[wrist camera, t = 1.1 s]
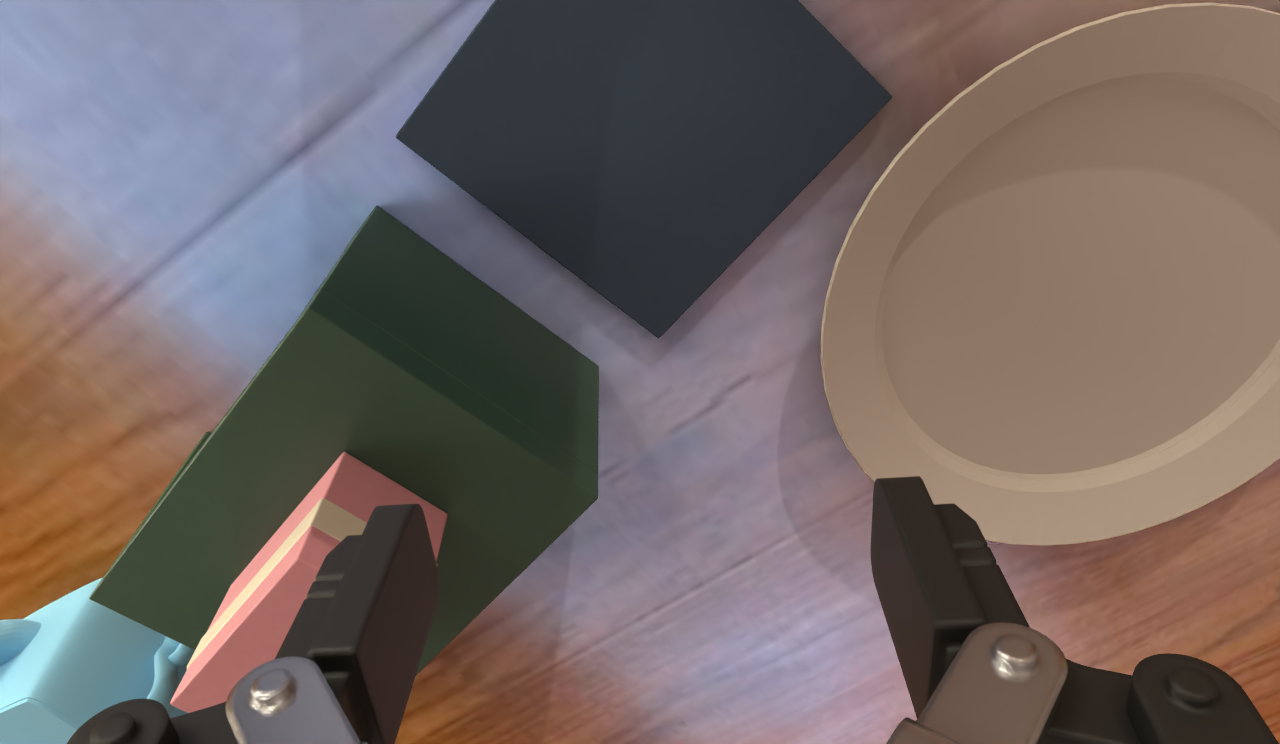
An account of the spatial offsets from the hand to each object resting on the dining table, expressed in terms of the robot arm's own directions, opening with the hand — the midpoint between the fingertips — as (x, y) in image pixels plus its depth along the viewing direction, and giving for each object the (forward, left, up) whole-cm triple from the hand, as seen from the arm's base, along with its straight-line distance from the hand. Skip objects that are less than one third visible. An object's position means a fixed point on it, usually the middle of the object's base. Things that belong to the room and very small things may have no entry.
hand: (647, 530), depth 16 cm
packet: (0, -16, -14) cm, 21 cm away
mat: (0, +2, -24) cm, 24 cm away
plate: (+21, +9, -24) cm, 33 cm away
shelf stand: (-1, -16, -24) cm, 29 cm away
